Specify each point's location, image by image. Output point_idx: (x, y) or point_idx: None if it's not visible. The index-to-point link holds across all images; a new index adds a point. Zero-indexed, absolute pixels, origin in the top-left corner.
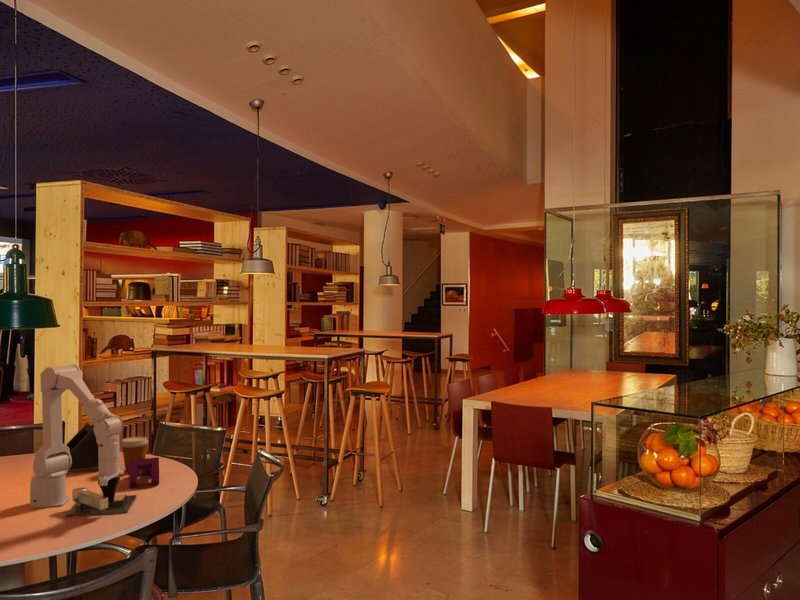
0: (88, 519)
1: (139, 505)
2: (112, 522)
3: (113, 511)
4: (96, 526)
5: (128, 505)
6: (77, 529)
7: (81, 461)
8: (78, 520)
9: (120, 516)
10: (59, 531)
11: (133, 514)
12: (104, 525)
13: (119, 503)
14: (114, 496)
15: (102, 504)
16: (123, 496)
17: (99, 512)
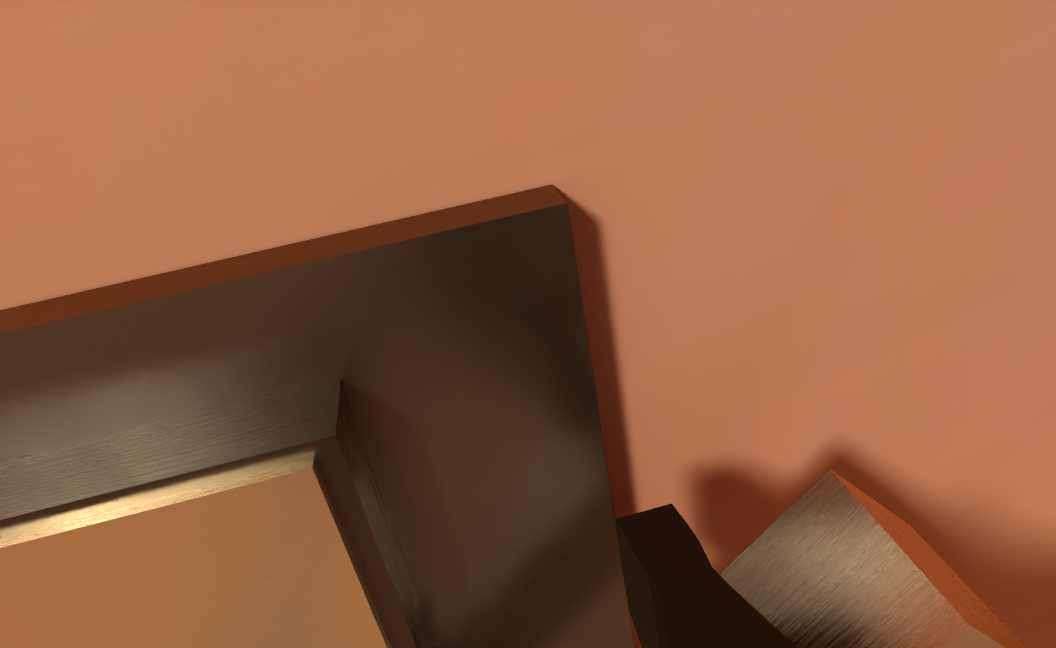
0: None
1: (88, 123)
2: (959, 220)
3: (593, 401)
4: (1035, 356)
5: (325, 284)
6: (1047, 500)
7: None
8: None
9: (718, 219)
10: (1031, 615)
11: (652, 19)
12: (1040, 275)
13: (356, 458)
14: (658, 589)
15: (943, 571)
16: (77, 548)
17: (619, 554)
